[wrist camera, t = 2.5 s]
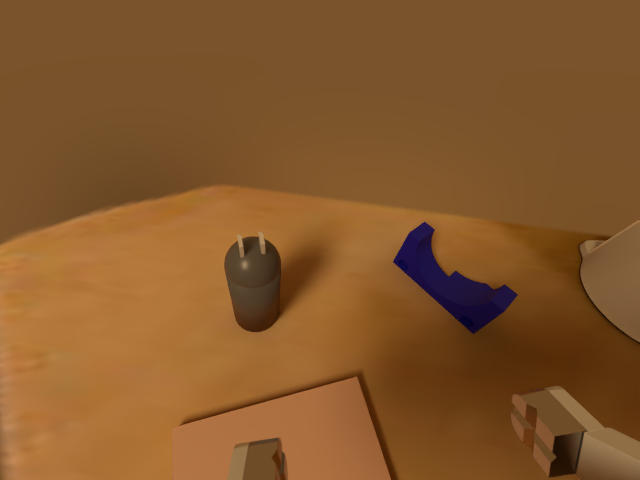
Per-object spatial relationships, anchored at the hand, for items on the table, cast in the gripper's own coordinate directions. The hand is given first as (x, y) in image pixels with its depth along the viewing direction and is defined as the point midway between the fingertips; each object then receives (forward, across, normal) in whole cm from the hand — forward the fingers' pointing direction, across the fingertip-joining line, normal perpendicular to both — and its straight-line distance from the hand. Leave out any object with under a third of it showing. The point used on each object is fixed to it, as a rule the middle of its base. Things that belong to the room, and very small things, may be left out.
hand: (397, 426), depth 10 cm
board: (+9, +7, +15) cm, 19 cm away
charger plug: (+21, +9, +7) cm, 24 cm away
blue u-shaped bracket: (+25, -12, +11) cm, 30 cm away
